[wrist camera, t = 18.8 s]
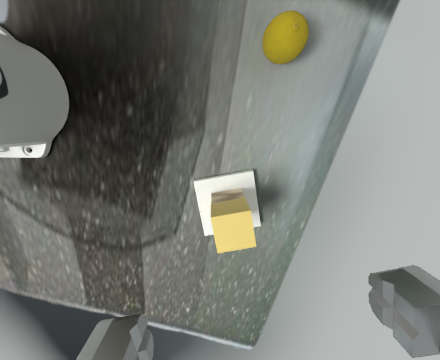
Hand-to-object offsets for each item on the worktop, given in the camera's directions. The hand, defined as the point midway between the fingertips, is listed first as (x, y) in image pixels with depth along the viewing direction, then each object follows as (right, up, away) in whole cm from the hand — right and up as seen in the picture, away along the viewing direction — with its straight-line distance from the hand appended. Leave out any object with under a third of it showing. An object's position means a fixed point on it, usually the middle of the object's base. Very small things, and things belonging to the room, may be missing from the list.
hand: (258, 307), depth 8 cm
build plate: (0, +1, +30) cm, 30 cm away
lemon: (+7, +24, +25) cm, 35 cm away
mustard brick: (0, -1, +24) cm, 24 cm away
